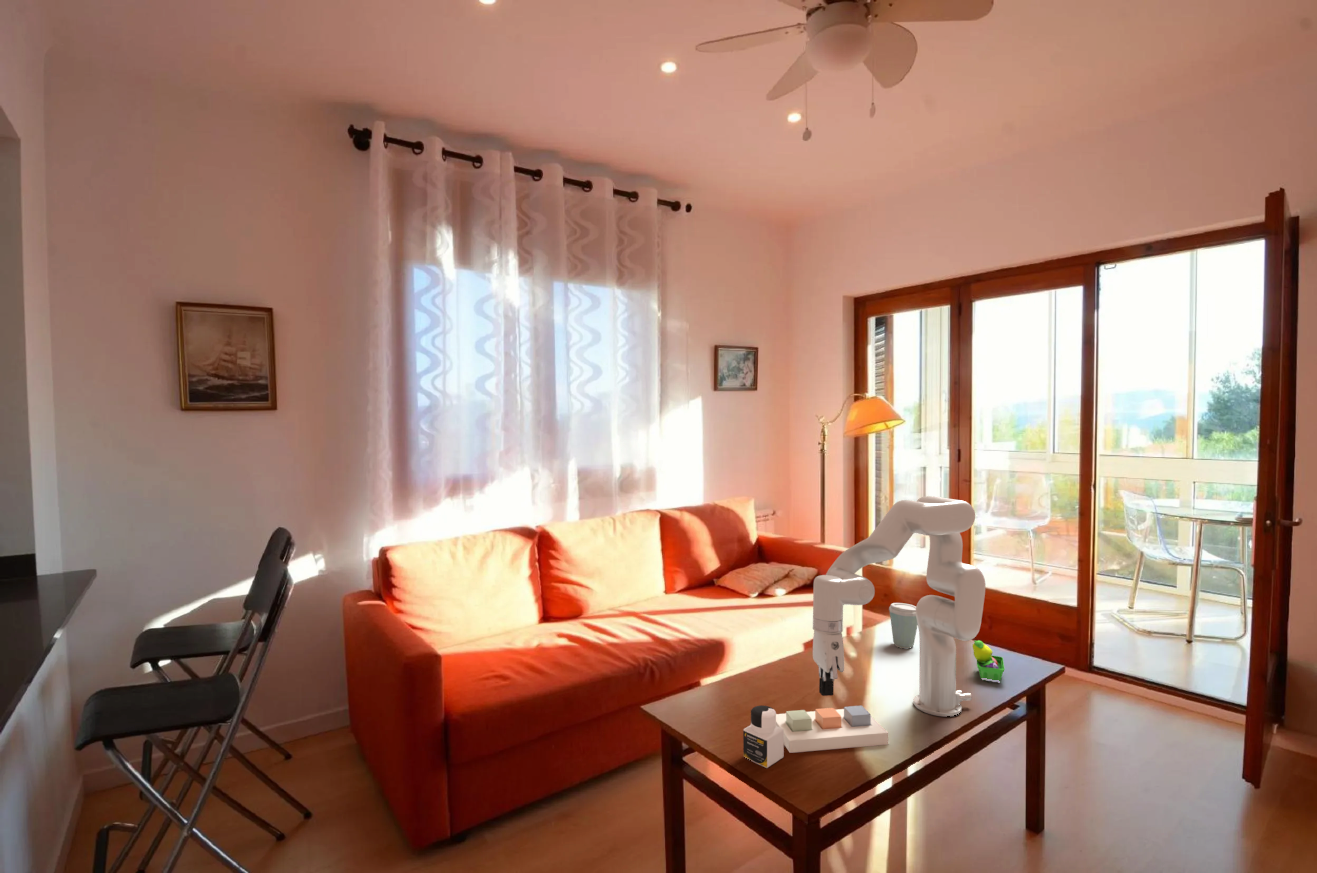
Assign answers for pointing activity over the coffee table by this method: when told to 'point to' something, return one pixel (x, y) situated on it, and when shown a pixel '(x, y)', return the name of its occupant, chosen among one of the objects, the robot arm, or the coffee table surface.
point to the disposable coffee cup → (903, 624)
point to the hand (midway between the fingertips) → (826, 694)
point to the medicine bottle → (763, 737)
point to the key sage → (798, 720)
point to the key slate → (857, 716)
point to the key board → (831, 735)
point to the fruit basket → (988, 662)
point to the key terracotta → (828, 718)
